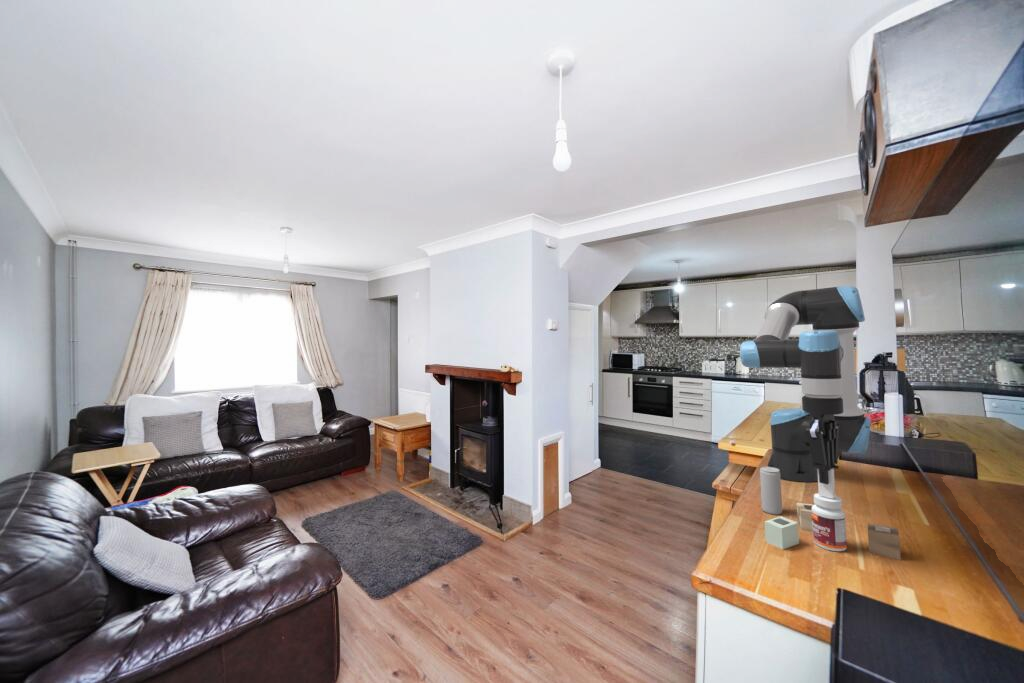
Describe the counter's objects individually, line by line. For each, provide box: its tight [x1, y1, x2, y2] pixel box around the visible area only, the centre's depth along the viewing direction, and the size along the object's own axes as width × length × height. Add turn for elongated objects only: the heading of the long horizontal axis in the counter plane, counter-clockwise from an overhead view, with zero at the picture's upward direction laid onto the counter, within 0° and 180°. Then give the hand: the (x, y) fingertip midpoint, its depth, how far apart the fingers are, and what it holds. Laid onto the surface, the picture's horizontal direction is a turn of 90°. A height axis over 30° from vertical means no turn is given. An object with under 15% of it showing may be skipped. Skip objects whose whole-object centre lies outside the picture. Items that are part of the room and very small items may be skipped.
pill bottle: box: [811, 492, 848, 552], centre depth 90 cm, size 6×6×11 cm
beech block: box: [796, 502, 814, 532], centre depth 99 cm, size 5×5×5 cm
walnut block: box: [866, 522, 902, 561], centre depth 86 cm, size 5×5×5 cm
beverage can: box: [759, 466, 783, 516], centre depth 108 cm, size 5×5×12 cm
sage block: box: [764, 515, 800, 550], centre depth 92 cm, size 6×4×5 cm, turn 112°
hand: (826, 496), depth 90 cm, fingers closed
